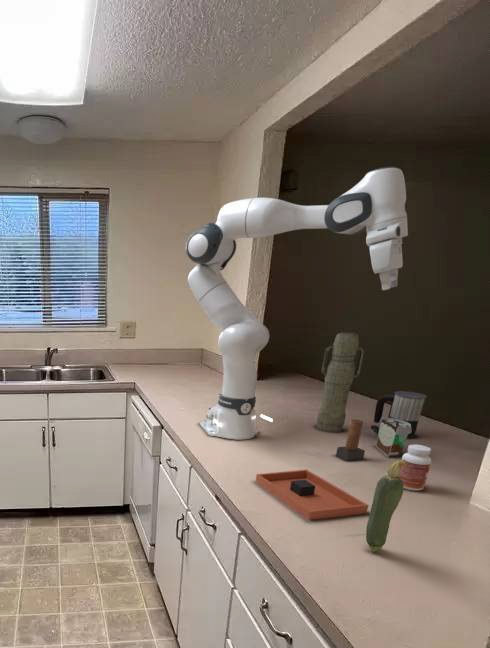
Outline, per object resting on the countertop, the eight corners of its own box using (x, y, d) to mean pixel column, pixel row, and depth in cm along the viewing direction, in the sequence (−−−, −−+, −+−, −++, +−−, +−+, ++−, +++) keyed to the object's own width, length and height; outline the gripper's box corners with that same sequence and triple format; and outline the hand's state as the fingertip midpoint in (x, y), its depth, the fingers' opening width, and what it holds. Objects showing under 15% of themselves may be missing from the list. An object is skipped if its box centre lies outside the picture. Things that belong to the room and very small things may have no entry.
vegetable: (356, 543, 90) (378, 453, 83) (376, 542, 90) (399, 452, 83) (371, 555, 86) (395, 462, 79) (392, 554, 86) (417, 461, 79)
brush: (346, 461, 132) (354, 423, 128) (335, 456, 136) (343, 419, 132) (362, 459, 133) (371, 422, 129) (351, 454, 137) (359, 418, 133)
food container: (412, 460, 133) (421, 429, 129) (390, 458, 134) (398, 428, 130) (394, 446, 144) (401, 417, 140) (373, 445, 145) (380, 416, 142)
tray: (255, 482, 118) (256, 474, 117) (305, 477, 121) (306, 469, 120) (308, 521, 98) (310, 511, 97) (366, 514, 101) (368, 505, 100)
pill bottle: (427, 492, 112) (439, 452, 108) (399, 489, 113) (410, 450, 110) (418, 483, 117) (429, 444, 113) (392, 480, 119) (401, 442, 115)
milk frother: (415, 433, 157) (425, 393, 152) (418, 445, 144) (430, 402, 139) (369, 426, 164) (377, 388, 159) (368, 438, 152) (377, 397, 147)
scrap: (289, 489, 113) (291, 480, 112) (303, 488, 113) (304, 479, 113) (299, 496, 109) (301, 487, 108) (313, 494, 110) (315, 485, 109)
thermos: (309, 423, 168) (326, 331, 156) (344, 426, 164) (363, 332, 153) (312, 430, 160) (330, 333, 148) (349, 433, 157) (370, 334, 145)
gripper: (380, 238, 124) (383, 288, 127) (364, 238, 110) (368, 294, 113) (407, 231, 119) (410, 283, 122) (394, 229, 105) (397, 288, 109)
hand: (389, 288), depth 118 cm, fingers open, 8 cm apart
